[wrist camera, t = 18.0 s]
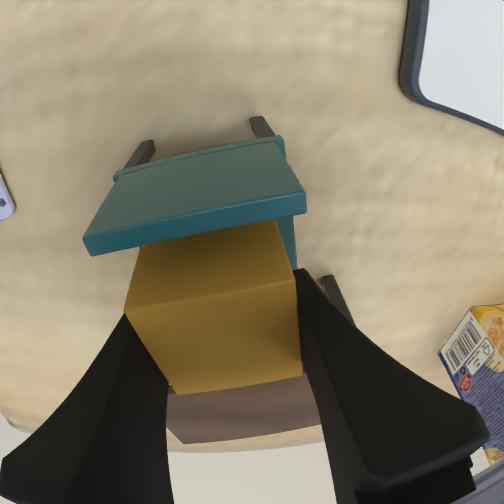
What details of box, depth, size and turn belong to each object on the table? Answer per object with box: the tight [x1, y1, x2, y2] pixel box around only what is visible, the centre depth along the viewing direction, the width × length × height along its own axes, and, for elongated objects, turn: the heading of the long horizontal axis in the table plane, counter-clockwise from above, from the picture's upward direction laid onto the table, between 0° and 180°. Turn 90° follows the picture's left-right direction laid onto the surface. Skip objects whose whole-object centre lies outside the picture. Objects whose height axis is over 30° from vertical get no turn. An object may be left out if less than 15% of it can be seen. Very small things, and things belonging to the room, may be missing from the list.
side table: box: [166, 275, 356, 444], centre depth 20 cm, size 7×12×7 cm, turn 99°
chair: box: [83, 116, 307, 270], centre depth 12 cm, size 6×6×8 cm
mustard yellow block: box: [124, 219, 303, 395], centre depth 10 cm, size 4×4×3 cm
